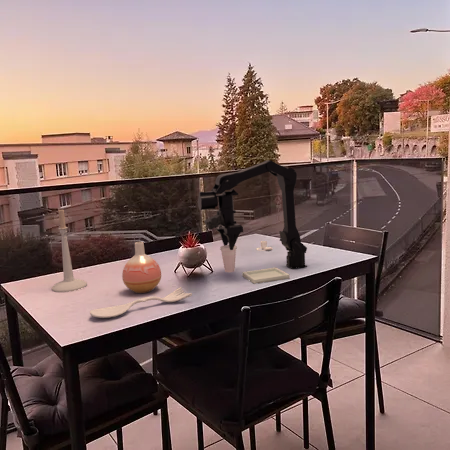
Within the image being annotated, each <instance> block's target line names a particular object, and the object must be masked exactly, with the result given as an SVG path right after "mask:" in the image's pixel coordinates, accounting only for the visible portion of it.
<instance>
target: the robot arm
mask: <svg viewBox="0 0 450 450" xmlns="http://www.w3.org/2000/svg"><path fill="white" fill-rule="evenodd" d="M265 173H269V174H271V175H272V176H274V177H276V179H277V183H278V186H279V188H280V190H281V197H282V198H281V199H282V200H281V201H282V212H283V229H282V230H278V231H279V232H278V233H279V236H280V237H279V242H281V244H282V246H283V247H285V250H286V251H287V255H286V263H285V264H286V265H285V267H288V268H290V269H292V270H295V269H301V268H307V267H308V265H307V264H306V253H307V250H308V247H307V246H306V245H304V244H303V242H302V239H301V235H300V232H299V230H298V227H297V224H296V223H297V222H296V221H297V220H296V208H295V207H296V206H295V189H296V188H295V187H296V185H297V179H298V173H297V171H296V170H295V169H294V168H292V167H285V166H283V165H281V164H278V163H276V162H275V161H273V160H268V159H267V160H264V161H263V162H260V163H257V164H255V165H252V166H250V167H249V166H248V167H246V168H244V169H241V170H239V171H234V172H229V173H222V174H219V175H218V176H217V177H216V178H215V183H214V185H213V187H212V188H211V189H210V191H198V196H197V207H198V210H199V211H205V210H206V211H207V210H216V208H217V207H218V209H217V210H216V215H213V216H210V217H209V218H207V219H205V220H204V221H203V222H204V224H205V226H206V227H205V228H206V229H208V230H213V229H215V231H217V233H219V236H220V238H221V241H222V243H223V246H225V245H229V248H230V250H233V248H234V246H236V243H237V240H238V238H239V236H240V234H241V233H244V226H242V224H240V223H237V221H236V220H235V214H236V212H237V211H236V210H235V209H234V208H235V207H234V196H238V195H239V193H238V192H237V191H236V190H235V187H237V186H238V185H239V184H241V183H242V182H244V181H247V180H249V179H252V178H254V177H257V176H259V175H263V174H265Z"/></svg>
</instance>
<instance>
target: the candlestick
mask: <svg viewBox="0 0 450 450" xmlns="http://www.w3.org/2000/svg"><path fill="white" fill-rule="evenodd" d="M57 211H58V220H59V227H58V230H59V234H60V235H61V253H62V254H61V255H62V269H63V271H62V272H63V280H60V281H58V282H57V283H55V284H54V285H53V286H52V287H51V291H52V290H53V291H52V292H54V291H55V292H54V293H70V292H69V291H71V292H75V291H74V290H76V291H79V290H78V289H80V290H82V289H81V288H83V289H85V288H86V287H88V282H87V281H85V280H83V279H80V278H75V277H74V271H73V266H72V259H71V253H70V248H69V243H68V236H67V233H68V226H66V217H65V210H64V209H58V210H57ZM85 286H86V287H85ZM84 287H85V288H84Z"/></svg>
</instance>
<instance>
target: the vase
mask: <svg viewBox="0 0 450 450" xmlns="http://www.w3.org/2000/svg"><path fill="white" fill-rule="evenodd" d="M121 277H122V282H123V284H124V285H125V287H126V288H128V289H129V290H130V291H132V292H133V293H135V294H146V293H150V292H152V291H154V289H155V288H156V287H157V286H158V285H159V284H160V282H161V279H162V271H161V267H160V265H159V264H158V262H157V260H155V259H154V258H152V256H149V255H148V254H146V253H145V245H144V242H143V241H135V242H134V255H133V256H132V257H131V258H129V259H128V260H127V262H126V263H125V265H124V266H123V269H122V275H121Z"/></svg>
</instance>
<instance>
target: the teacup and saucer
mask: <svg viewBox="0 0 450 450" xmlns="http://www.w3.org/2000/svg"><path fill="white" fill-rule="evenodd" d="M273 249H274V248H273V247H271V246H268V241H267V240H261V241H260V247H257V248H256V249H255V250H256V251H259V252H266V251H271V250H273Z"/></svg>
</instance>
